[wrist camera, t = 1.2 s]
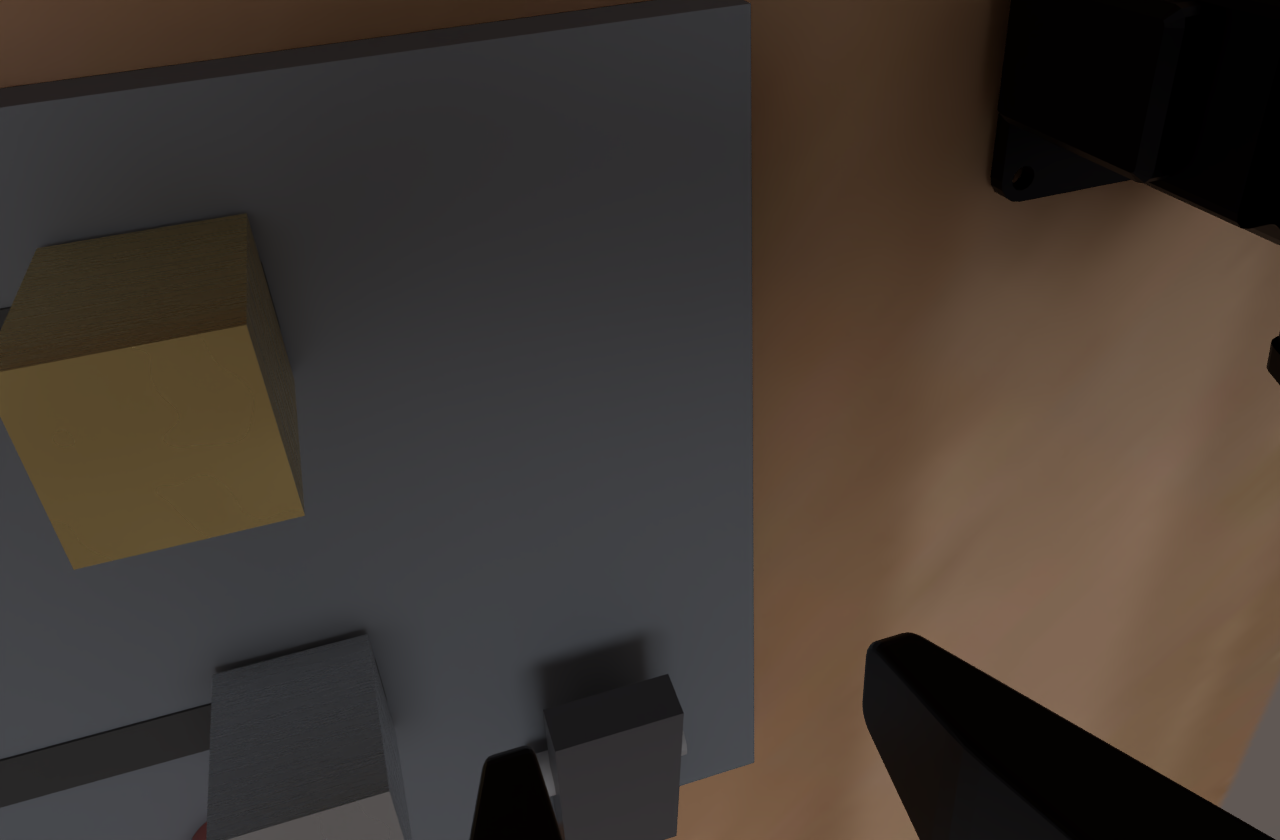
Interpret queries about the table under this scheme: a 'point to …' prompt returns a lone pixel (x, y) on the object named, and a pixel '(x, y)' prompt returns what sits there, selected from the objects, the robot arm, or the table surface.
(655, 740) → the dark grey small block
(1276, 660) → the table surface
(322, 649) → the steel slider
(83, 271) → the brass slider
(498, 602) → the panel
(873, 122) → the table surface
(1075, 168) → the robot arm
